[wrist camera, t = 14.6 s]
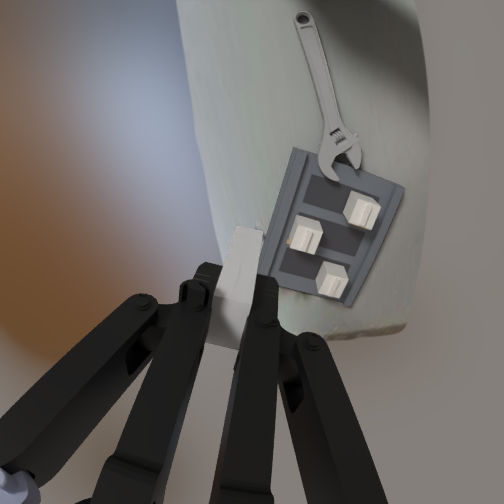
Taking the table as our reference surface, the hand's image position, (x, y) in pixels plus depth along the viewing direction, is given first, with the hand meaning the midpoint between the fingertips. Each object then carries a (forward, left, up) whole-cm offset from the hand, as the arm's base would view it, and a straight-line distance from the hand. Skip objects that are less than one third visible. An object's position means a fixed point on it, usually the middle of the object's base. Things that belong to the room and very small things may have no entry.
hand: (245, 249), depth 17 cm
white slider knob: (+7, +8, -26) cm, 28 cm away
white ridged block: (+13, +15, -26) cm, 32 cm away
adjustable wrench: (-13, +6, -27) cm, 30 cm away
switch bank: (+7, +12, -27) cm, 31 cm away
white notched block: (+1, +15, -26) cm, 30 cm away
